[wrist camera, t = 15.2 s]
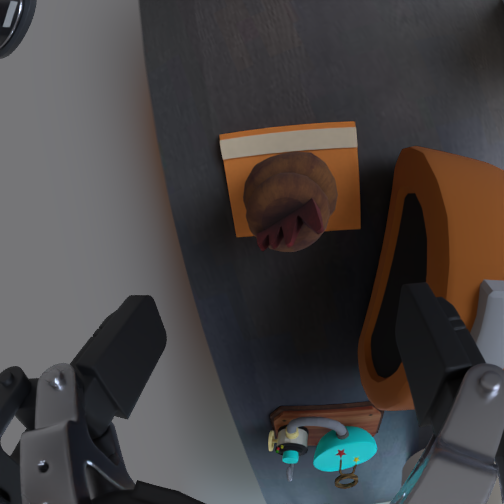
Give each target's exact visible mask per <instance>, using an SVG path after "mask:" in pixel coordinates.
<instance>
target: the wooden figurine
mask: <svg viewBox="0 0 504 504" xmlns="http://www.w3.org/2000/svg"><path fill="white" fill-rule="evenodd" d="M337 197H338V193H337V187H336V181H335V178H334V177H333V175H332V173H331V171H330V170H329V168H328V166H327V165H326V163H325V162H324V161H323V160H321V159H320V158H318V157H317V156H316V155H314V154H313V153H310V152H289V153H283V154H279V155H276V156H272V157H269V158H267V159H265V160H263V161H261V162H259V163H258V164H256V165H255V166H254V167H253V169H252V171H251V173H250V174H249V176H248V178H247V180H246V181H245V186H244V194H243V201H244V204H245V207H246V219H247V222H248V226H249V229H250V231H251V232H252V234H253V235H254V236H255V237H256V238H257V244H258V246H259V248H260V249H261V250H262V251H264V250H266V249H267V248H270V249H273V250H277V251H281V252H296V251H299V250H302V249H305V248H307V247H308V246H310V245H311V244H313V243H314V242H316V241H317V240H318V239H319V237H320V236H321V235H322V234H323V232H324V231H325V230H326V228H327V224H328V220H329V217H330V216H331V215H332V214H333V212H334V211H335V208H336V202H337Z"/></svg>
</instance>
